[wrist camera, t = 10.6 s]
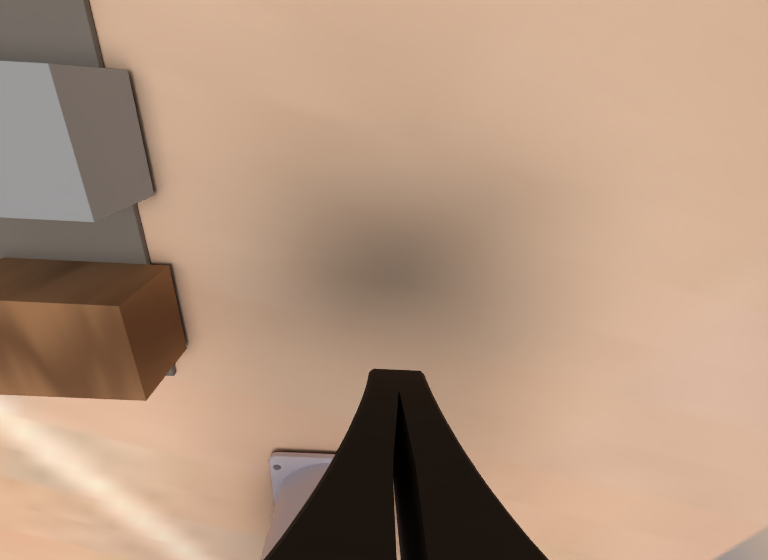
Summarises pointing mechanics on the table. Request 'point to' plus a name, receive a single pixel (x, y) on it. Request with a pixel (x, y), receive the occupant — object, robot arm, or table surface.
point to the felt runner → (77, 48)
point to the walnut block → (86, 328)
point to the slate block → (69, 143)
